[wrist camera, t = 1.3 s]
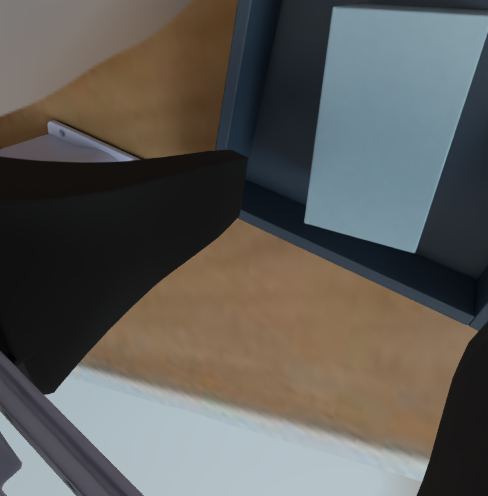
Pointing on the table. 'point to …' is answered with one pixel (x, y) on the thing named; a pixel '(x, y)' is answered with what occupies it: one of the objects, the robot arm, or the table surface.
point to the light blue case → (389, 116)
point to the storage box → (302, 146)
